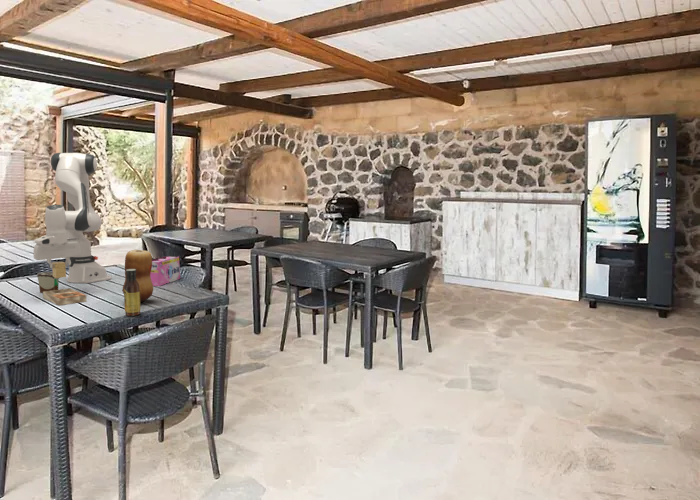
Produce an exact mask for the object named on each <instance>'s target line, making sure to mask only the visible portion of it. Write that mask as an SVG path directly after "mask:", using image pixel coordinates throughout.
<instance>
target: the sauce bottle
mask: <svg viewBox="0 0 700 500" xmlns="http://www.w3.org/2000/svg"><path fill="white" fill-rule="evenodd" d="M126 274H127V280H126V283H125V286H124V293H123V298H124V302H123V303H124V314H125V315H126V316H130V317H132V316H133V317H134V316H135V317H136V316H139V315H141V302H140V290H139V283H138V282H137V281H136V269H127V270H126Z"/></svg>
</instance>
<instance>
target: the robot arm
mask: <svg viewBox="0 0 700 500" xmlns="http://www.w3.org/2000/svg"><path fill="white" fill-rule="evenodd" d="M50 165H51V169H52V170H53V171H54V172H55V175H54V182H55V184H56V186H57V187H58V188H59V189H60V190H61V191H63V192H65V193H66V200H67V201H68V203H69V204H70V205H72V206H73V208H74V210H65V206H64V205H62V204H50V205H48V206H46V207H45V212H44V220H45V221H44V223H45V227H46V231H45V235H43V236H41V237H39V238H38V237H37V238H36V239H34V242H35V245H34V246H33V259H35V260H36V261H44V260H45V261H46V262H47V264H48V265H49V269H52V268H55V267H54V264H52V260H55V259H65V267H68V277H67V280H66V281H67V282H68V283H73V284H74V283H76V284H77V283H78V284H80V283H81V284H86V283H87V284H90V283H96V282H102V281H107V280H112V276H111V275H108V272H107V270H106V269H107V268H105V267H104V266H103V265H101V264H99V263H98V262H96V261H97V260H98V259H99V256H97V255H92V244H91V241H90V240H89V239H88V238H87V237H86V236H85V235H84V233H85V232H86V233H91V232H95V231H98V230H99V229H100V228H101V227H102V219H101V216H100V215H99V214H98V213H97V212H96V211H95V210H94V207H93V206H92V203H91V198H90V179H89V177H90V176H91V174H94V173H95V172H96V170H97V167H98V162H97V158H96V156H95V155H93V154H91V153H80V152H56V153H53V154H52V155H51V158H50Z"/></svg>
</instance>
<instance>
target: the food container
mask: <svg viewBox="0 0 700 500" xmlns="http://www.w3.org/2000/svg"><path fill="white" fill-rule="evenodd" d="M36 277H37V280H38V287H39V293H40V294H43V292H44V291H52V290H59V286H60V285H59V282H60V281H59V280H60V278H55V277H53V271H47V272H46V271H44V272H37V274H36Z"/></svg>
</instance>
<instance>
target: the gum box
mask: <svg viewBox="0 0 700 500" xmlns="http://www.w3.org/2000/svg"><path fill="white" fill-rule="evenodd" d="M180 267H181V266H180V255H178V256H171V255H166V256H162V257H158V258H154V259H152V268H151V274H150V277H151V281H152V284H153V287H161V286H163V285H167V284H169V282H170V283H172V282H175V281H178V280H180V279H181V268H180ZM166 283H167V284H166Z"/></svg>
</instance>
